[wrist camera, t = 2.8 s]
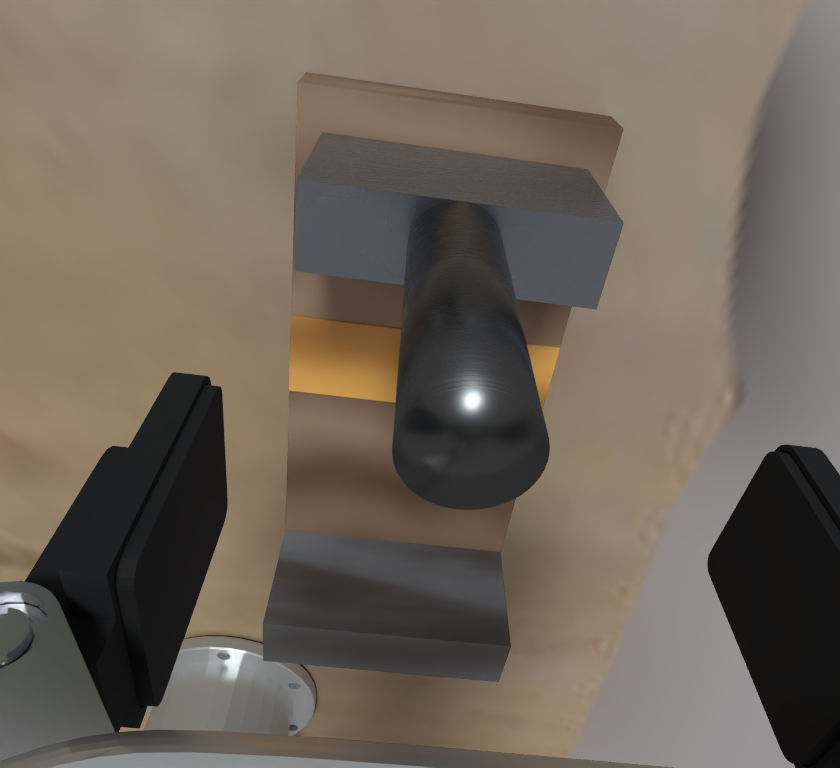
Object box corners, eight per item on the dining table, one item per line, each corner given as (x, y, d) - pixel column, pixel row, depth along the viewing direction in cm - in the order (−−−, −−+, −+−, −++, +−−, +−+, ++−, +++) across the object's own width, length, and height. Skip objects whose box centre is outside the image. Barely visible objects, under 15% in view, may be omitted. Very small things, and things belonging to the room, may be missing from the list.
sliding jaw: (567, 243, 27) (695, 534, 14) (318, 210, 26) (209, 483, 13) (588, 168, 25) (753, 420, 12) (322, 132, 25) (201, 356, 12)
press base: (487, 560, 41) (498, 681, 34) (290, 540, 40) (262, 660, 34) (611, 116, 26) (671, 178, 20) (306, 72, 26) (262, 121, 19)
